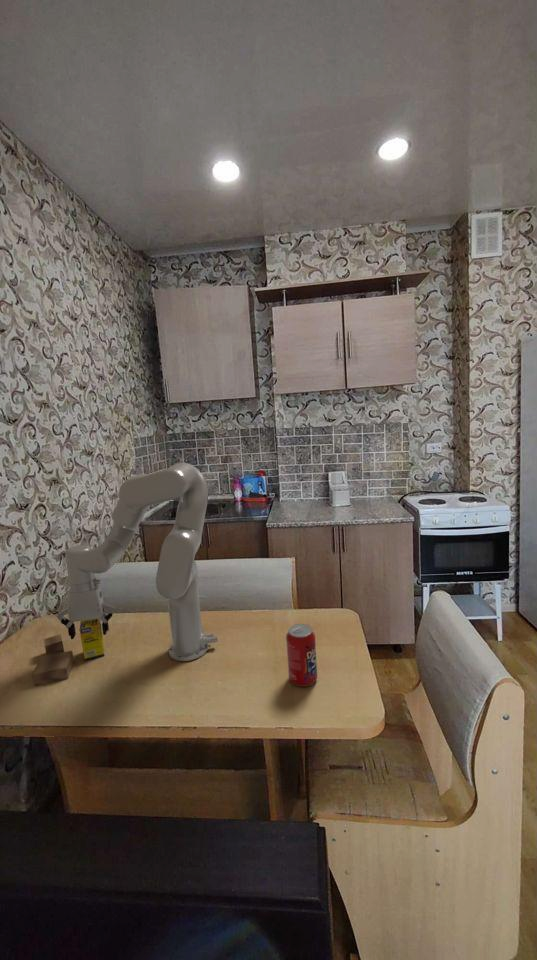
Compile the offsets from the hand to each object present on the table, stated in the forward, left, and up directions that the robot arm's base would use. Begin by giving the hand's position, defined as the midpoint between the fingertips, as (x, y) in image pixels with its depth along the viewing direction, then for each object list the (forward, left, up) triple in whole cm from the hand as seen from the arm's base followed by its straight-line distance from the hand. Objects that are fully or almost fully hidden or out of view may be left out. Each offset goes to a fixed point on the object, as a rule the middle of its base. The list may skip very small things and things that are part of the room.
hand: (89, 634), depth 133 cm
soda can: (-62, +31, -7) cm, 69 cm away
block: (+12, -4, -7) cm, 15 cm away
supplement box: (-1, 0, -7) cm, 7 cm away
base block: (+9, +7, -7) cm, 14 cm away
